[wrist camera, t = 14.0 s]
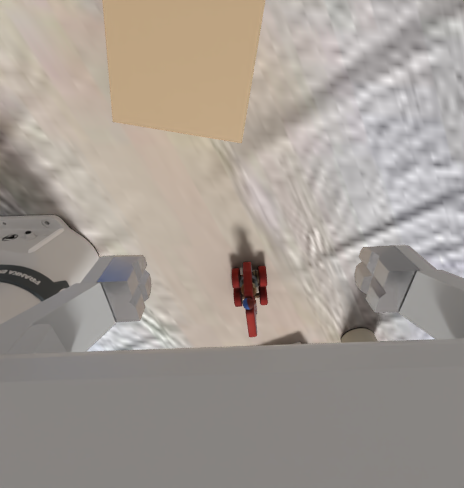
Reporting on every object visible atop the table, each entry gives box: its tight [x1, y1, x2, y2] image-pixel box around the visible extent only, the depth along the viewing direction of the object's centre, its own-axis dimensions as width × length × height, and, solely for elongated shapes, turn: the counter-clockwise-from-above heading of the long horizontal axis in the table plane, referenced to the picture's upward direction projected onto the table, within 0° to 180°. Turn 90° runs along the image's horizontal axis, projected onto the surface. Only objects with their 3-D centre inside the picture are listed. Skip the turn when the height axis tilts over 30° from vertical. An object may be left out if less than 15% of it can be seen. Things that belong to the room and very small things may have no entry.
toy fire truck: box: [232, 262, 268, 337], centre depth 50 cm, size 7×12×10 cm, turn 6°
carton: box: [102, 0, 265, 143], centre depth 29 cm, size 14×13×12 cm
